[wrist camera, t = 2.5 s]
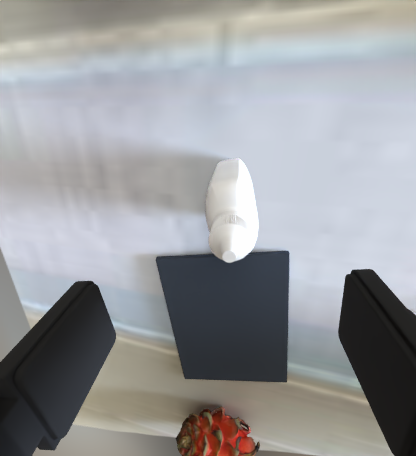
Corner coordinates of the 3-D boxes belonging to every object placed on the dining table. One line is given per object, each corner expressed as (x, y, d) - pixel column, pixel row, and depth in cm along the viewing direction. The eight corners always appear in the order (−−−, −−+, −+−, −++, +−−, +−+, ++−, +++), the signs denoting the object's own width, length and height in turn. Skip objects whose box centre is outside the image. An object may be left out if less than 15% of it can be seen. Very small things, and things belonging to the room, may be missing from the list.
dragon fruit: (178, 392, 40) (251, 394, 41) (174, 452, 39) (250, 452, 40) (176, 424, 32) (266, 425, 33) (170, 502, 30) (266, 501, 31)
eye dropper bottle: (203, 207, 24) (174, 286, 13) (220, 151, 22) (203, 191, 11) (245, 221, 24) (250, 309, 14) (267, 166, 22) (295, 221, 11)
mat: (157, 256, 27) (155, 259, 27) (288, 250, 25) (289, 253, 25) (185, 374, 36) (184, 378, 35) (285, 378, 33) (286, 382, 33)
